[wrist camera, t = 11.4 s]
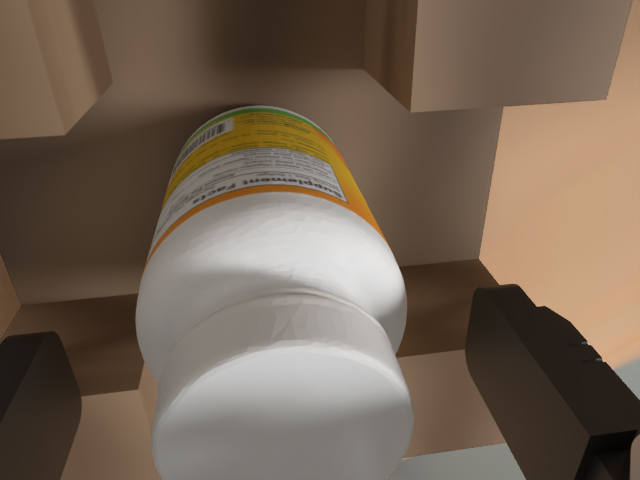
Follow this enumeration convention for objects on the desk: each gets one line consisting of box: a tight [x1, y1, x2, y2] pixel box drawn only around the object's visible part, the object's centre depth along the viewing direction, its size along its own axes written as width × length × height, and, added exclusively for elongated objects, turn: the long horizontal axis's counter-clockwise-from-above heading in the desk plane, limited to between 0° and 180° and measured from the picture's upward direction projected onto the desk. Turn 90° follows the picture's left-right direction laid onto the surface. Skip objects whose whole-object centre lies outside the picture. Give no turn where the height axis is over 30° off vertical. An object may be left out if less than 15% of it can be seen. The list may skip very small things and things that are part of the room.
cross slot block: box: [0, 0, 632, 480], centre depth 14 cm, size 16×16×6 cm
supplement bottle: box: [135, 105, 414, 480], centre depth 12 cm, size 5×5×10 cm
